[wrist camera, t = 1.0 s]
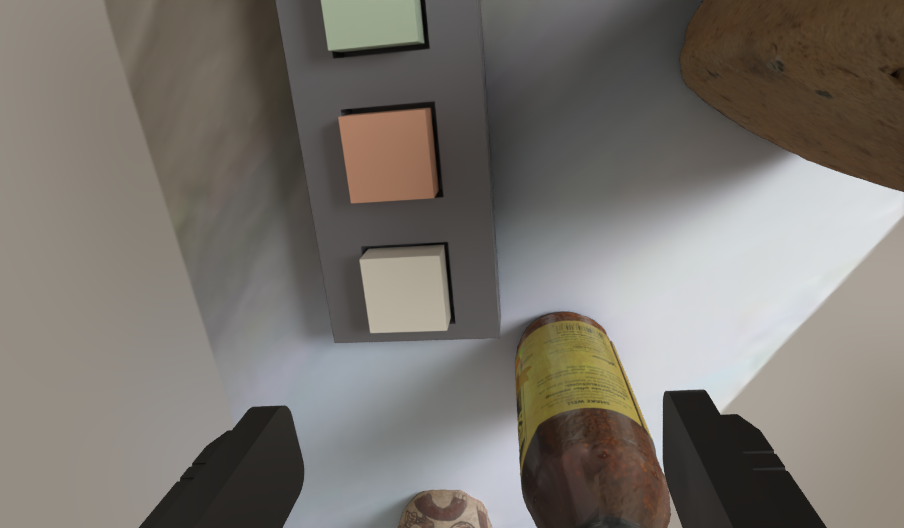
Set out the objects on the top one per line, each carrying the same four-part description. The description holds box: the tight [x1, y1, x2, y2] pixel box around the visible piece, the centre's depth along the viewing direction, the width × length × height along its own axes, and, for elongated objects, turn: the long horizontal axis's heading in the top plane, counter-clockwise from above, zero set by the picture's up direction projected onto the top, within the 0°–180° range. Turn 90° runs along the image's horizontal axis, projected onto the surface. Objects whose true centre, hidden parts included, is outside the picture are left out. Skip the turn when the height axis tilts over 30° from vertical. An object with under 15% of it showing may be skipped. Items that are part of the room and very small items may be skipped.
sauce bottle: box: [515, 312, 671, 528], centre depth 26 cm, size 7×6×20 cm
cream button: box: [360, 245, 451, 333], centre depth 31 cm, size 4×4×2 cm
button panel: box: [276, 0, 501, 343], centre depth 30 cm, size 22×10×3 cm, turn 5°
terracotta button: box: [338, 107, 439, 203], centre depth 28 cm, size 4×4×2 cm
